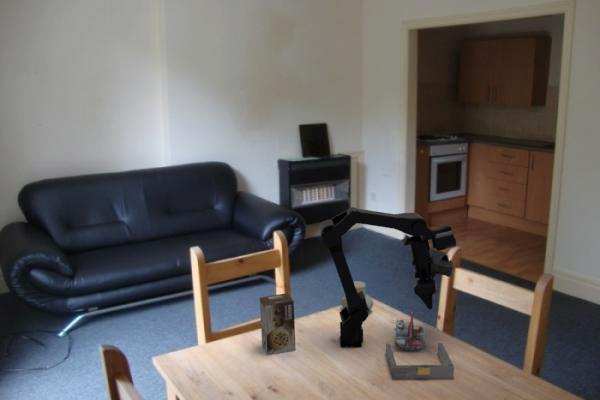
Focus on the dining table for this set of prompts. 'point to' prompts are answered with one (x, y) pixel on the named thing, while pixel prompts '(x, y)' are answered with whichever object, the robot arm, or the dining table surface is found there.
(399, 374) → the receiver
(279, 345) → the coffee box
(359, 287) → the air freshener
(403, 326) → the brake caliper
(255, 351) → the dining table surface
